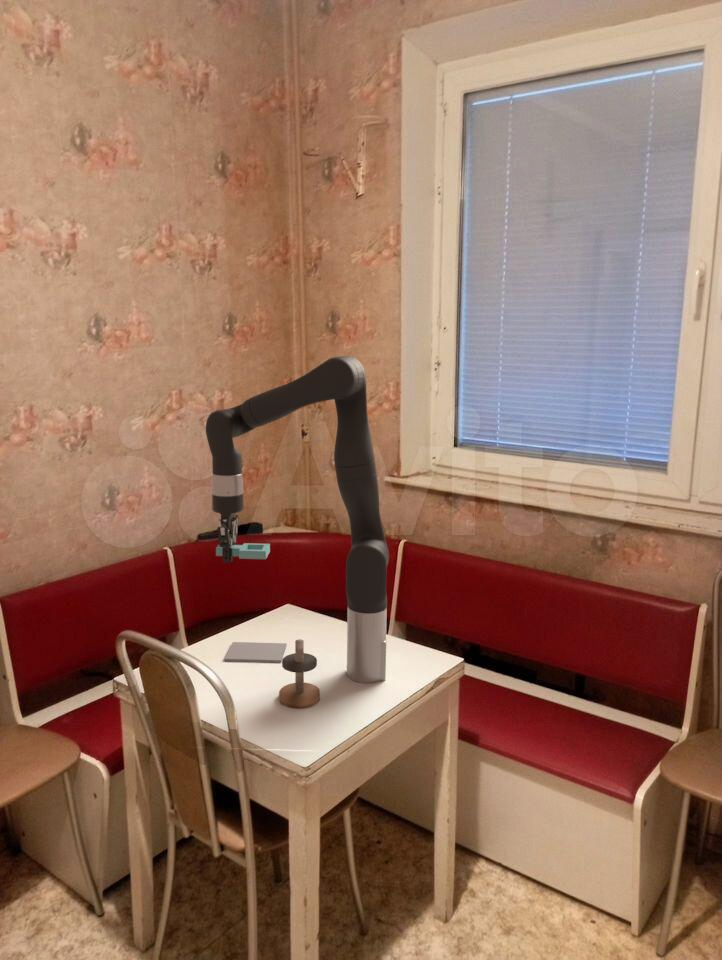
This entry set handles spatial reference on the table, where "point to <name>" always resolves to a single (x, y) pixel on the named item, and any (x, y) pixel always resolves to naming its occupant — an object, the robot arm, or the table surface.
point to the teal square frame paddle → (248, 551)
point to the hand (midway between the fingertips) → (229, 559)
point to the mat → (256, 652)
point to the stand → (299, 679)
